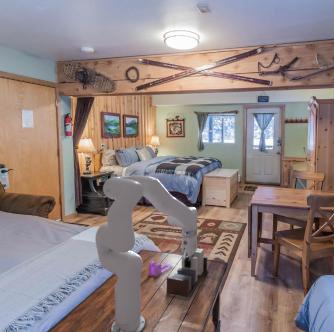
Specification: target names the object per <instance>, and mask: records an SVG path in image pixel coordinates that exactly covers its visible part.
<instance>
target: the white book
mask: <svg viewBox="0 0 334 332" xmlns="http://www.w3.org/2000/svg"><path fill="white" fill-rule="evenodd" d="M186 257H188V256H186ZM190 260H191V267H190V268H186V267H184V259H183V255H181V268H183V269H189V270H195V271H196V279H195V283H196V282H197V267H198V257H193V256H190Z"/></svg>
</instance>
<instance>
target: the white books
mask: <svg viewBox="0 0 334 332" xmlns="http://www.w3.org/2000/svg"><path fill="white" fill-rule="evenodd" d="M204 251H205V250H204V249H203V248H198V247H197V250H196V251H195V253H194V257H198V267H197V275H201V274H202V272H203V261H204V256H205V255H204V254H205V253H204Z"/></svg>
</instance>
